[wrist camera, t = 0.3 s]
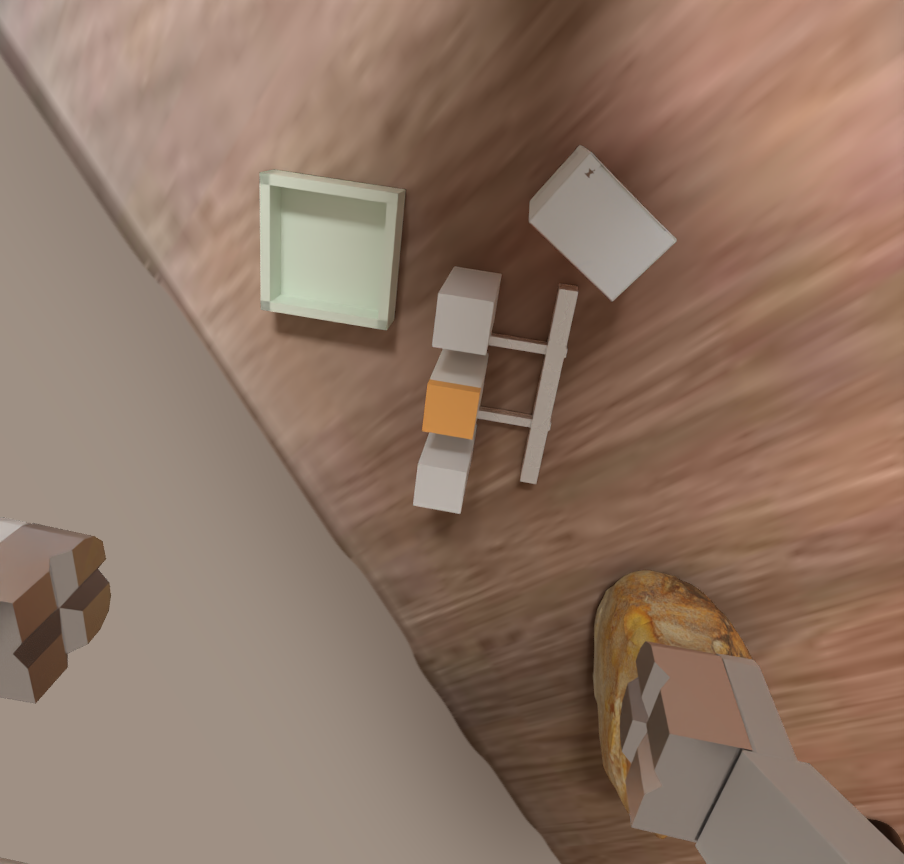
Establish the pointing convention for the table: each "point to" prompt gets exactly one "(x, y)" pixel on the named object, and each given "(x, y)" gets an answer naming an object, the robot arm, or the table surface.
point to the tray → (330, 248)
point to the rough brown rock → (654, 620)
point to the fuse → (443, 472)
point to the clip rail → (547, 384)
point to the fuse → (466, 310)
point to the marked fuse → (455, 394)
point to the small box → (598, 224)
